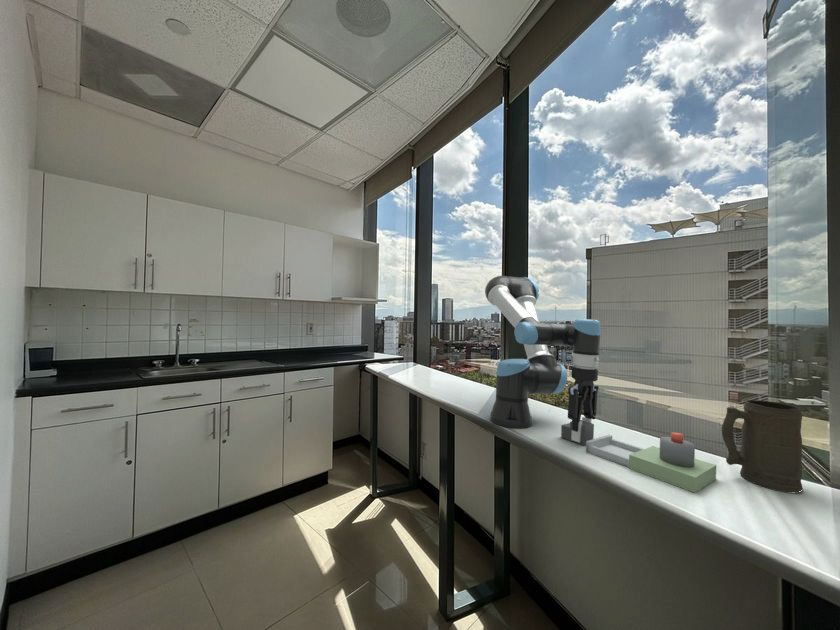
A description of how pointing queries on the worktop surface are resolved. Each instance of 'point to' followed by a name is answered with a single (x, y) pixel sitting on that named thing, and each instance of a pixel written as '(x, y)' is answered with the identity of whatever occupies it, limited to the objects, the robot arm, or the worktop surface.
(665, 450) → the green slab with knob
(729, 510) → the worktop surface
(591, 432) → the squat charcoal block
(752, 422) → the beer stein
